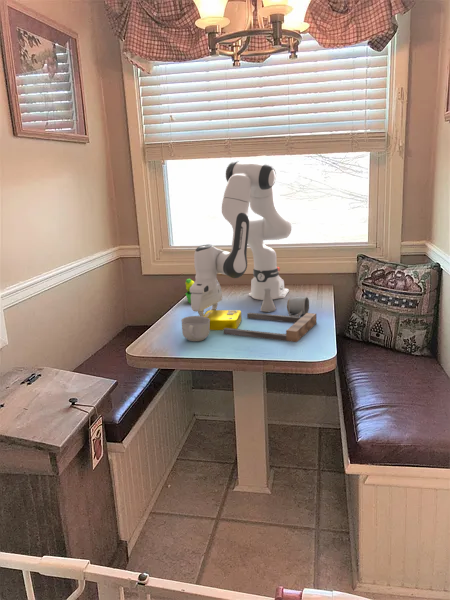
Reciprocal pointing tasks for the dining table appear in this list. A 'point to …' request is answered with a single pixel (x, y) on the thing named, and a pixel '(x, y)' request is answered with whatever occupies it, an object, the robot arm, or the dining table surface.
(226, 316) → the element tile
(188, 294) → the fruit basket
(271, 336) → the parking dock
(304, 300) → the ceramic mug
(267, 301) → the flask
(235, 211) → the robot arm
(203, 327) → the teacup
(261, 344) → the dining table surface
